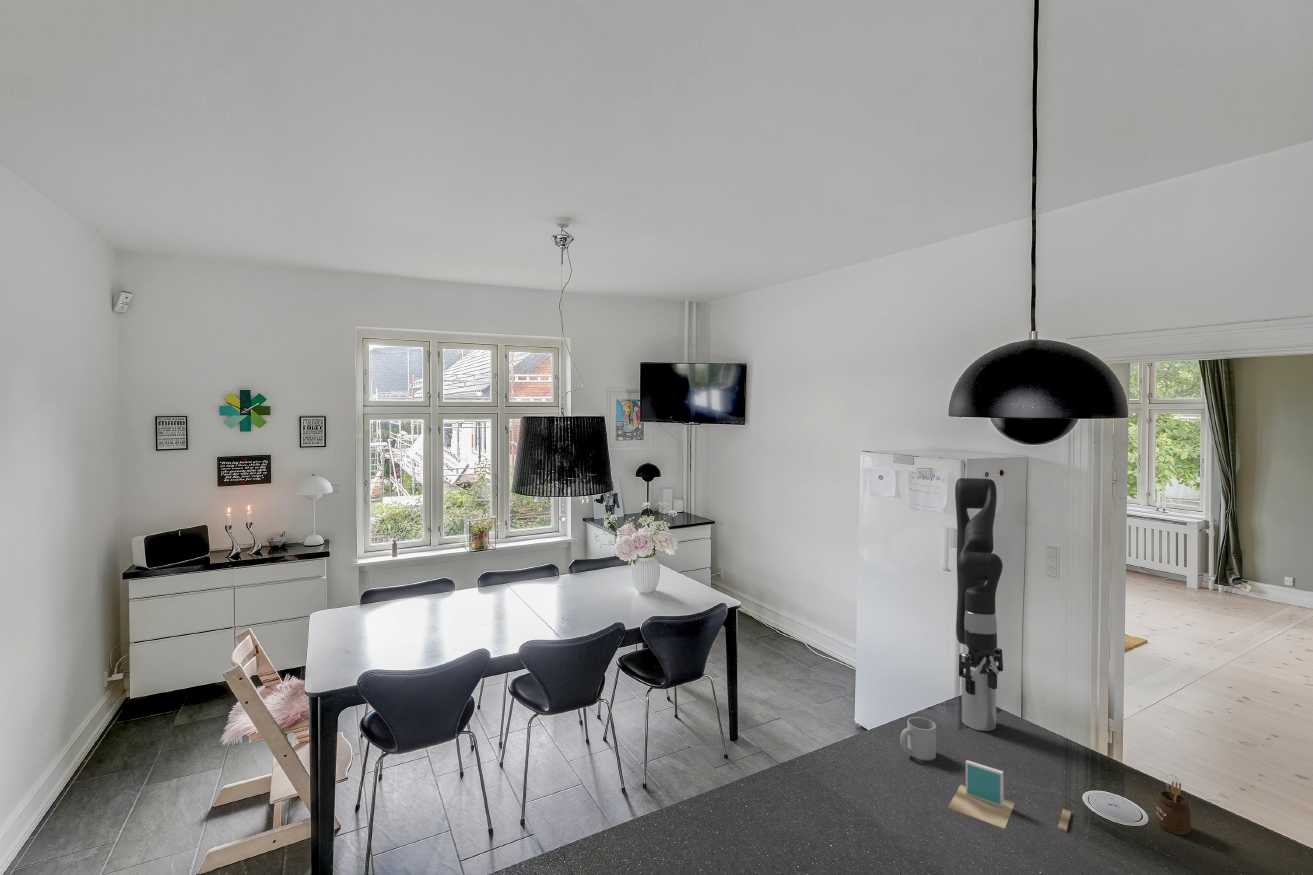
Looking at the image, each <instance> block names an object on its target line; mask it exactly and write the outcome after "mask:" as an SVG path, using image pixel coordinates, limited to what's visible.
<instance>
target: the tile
mask: <svg viewBox="0 0 1313 875" xmlns="http://www.w3.org/2000/svg"><path fill="white" fill-rule="evenodd" d="M965 786H966V794H967V795H970V796H972V797H975V798H978V799H981V800H984V801H987V802H990V803H992V804H995V805H998V806H1001V807H1003V805H1004V770H1000V769H997V768H994V767H990V766H987V765H984V764H980V763H978V762H975V761H971V760H968V759H966V760H965Z"/></svg>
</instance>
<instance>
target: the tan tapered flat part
mask: <svg viewBox="0 0 1313 875" xmlns="http://www.w3.org/2000/svg"><path fill="white" fill-rule="evenodd" d="M1071 816H1072V811H1071V810H1068V809H1065V808H1062V810H1061V814H1060V818H1059V822H1058V826H1057V829H1058V830H1060V831H1063V832H1066V833H1067V831H1068V828H1069V824H1070V819H1071Z"/></svg>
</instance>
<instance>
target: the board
mask: <svg viewBox="0 0 1313 875" xmlns="http://www.w3.org/2000/svg"><path fill="white" fill-rule="evenodd" d="M1003 799H1004V798H1003ZM1015 804H1016V803H1015V802H1013V801H1010V800H1008V799H1004V805H1003V807H1001V806H998V805H995V804H992V803H990V802H987V801H984V800H981V799H978V798H975V797H972V796H970V795H967V794H966V785H964V784H959V786H958V788H957V790H956V792H955V794H954V795H953V797H952V799H951V801H949V804H948V806H947V808H948V809H950V810H953V811H955V812H957V813H961V814H964V815H967V816H969V817H972V818H975V819H976V820H980V821H983V822H984V823H985V822H986V823H988V824H991V825H993V826H996V827H999V828H1001V829H1006V827H1007V825H1008V821H1009V819H1010V818H1011V814H1012V811H1013V809H1014V806H1015Z"/></svg>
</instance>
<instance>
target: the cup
mask: <svg viewBox="0 0 1313 875" xmlns="http://www.w3.org/2000/svg"><path fill="white" fill-rule="evenodd" d="M906 722H907V723H906V724H907V727H906V728H904V729H903V730H901V733H900V738H899V741H900V742H899V743H900V746H901V749H902V751H904V752H905V753H908V755H909V757H913V758H915V759H917V760H921V761H932V760H934V759H936V757H937V725H936V723H935V722H934V721H932V720H930V719H928V718H926V717H921V716H914V717H912V716H911V717H910V718H908V719H907V721H906Z"/></svg>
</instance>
